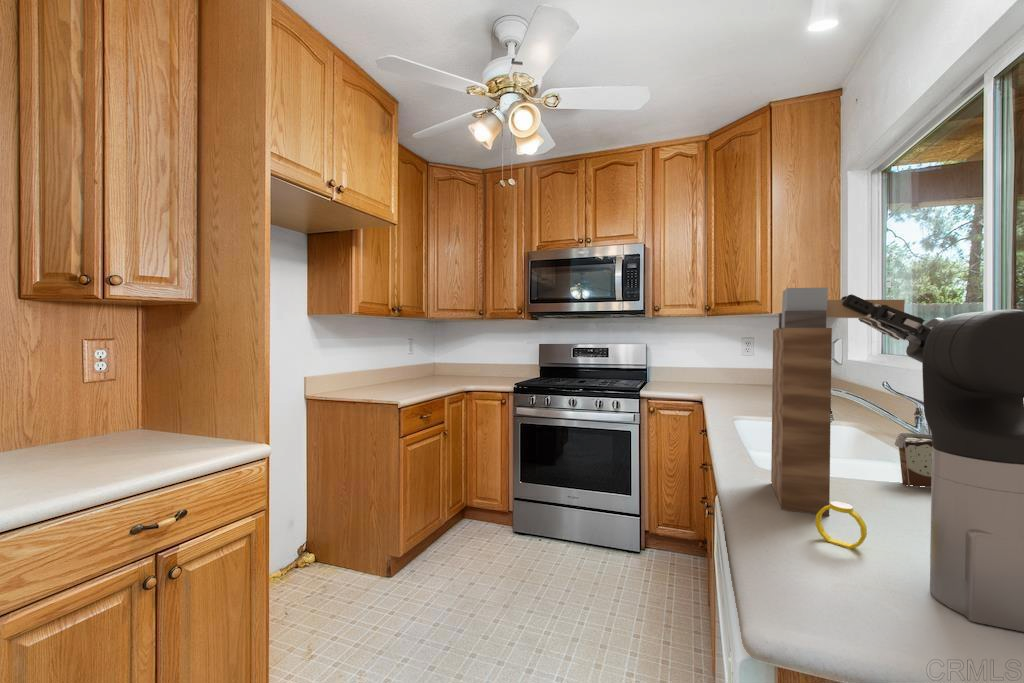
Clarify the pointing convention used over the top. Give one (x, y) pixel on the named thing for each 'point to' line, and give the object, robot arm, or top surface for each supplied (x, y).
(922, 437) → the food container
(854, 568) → the top surface
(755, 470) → the top surface
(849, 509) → the watch
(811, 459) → the stand
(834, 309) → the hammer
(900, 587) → the top surface
